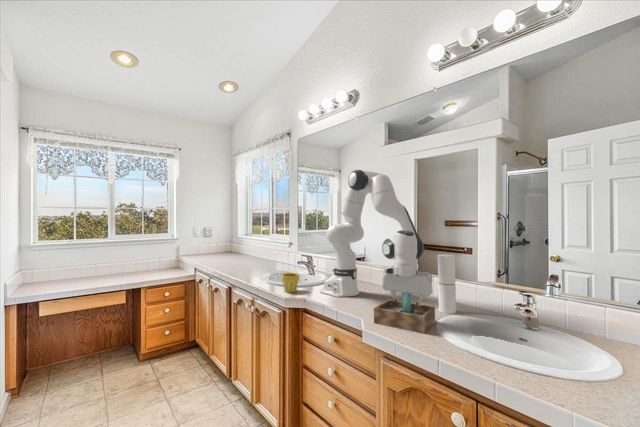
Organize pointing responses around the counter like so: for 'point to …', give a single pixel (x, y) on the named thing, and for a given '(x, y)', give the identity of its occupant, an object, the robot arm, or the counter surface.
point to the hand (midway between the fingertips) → (406, 303)
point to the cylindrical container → (446, 284)
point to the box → (405, 316)
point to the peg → (406, 302)
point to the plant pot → (290, 282)
